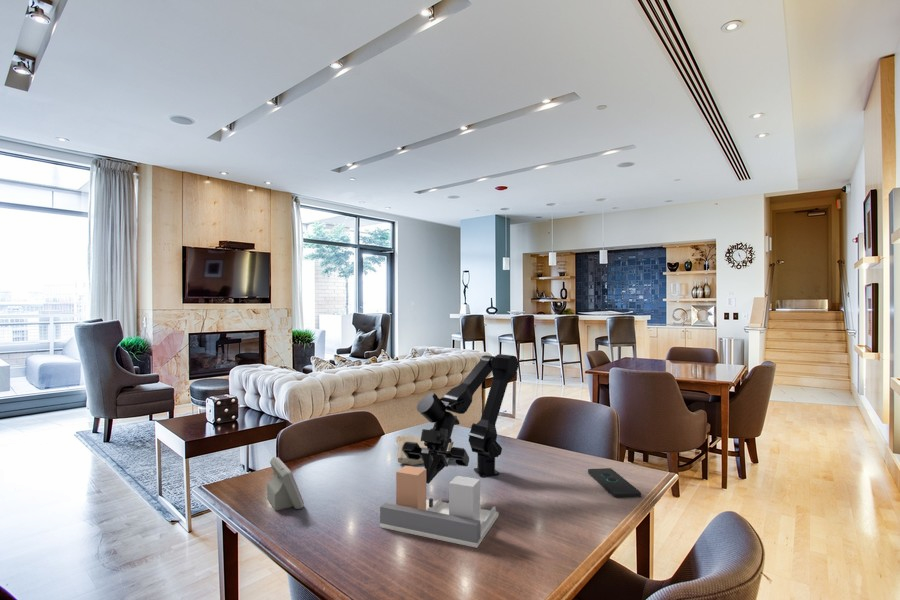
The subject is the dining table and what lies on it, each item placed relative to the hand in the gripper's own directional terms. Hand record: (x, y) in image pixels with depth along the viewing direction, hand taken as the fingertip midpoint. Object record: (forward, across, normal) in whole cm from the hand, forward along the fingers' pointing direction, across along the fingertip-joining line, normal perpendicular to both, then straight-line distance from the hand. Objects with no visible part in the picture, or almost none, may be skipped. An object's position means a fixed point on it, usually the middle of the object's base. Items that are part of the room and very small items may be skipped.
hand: (426, 482), depth 129 cm
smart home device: (-19, +46, +30) cm, 58 cm away
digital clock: (+13, -37, -4) cm, 39 cm away
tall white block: (+11, +15, -4) cm, 18 cm away
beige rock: (-22, -19, +32) cm, 44 cm away
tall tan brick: (+9, 0, -3) cm, 10 cm away
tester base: (+9, +7, -1) cm, 12 cm away
